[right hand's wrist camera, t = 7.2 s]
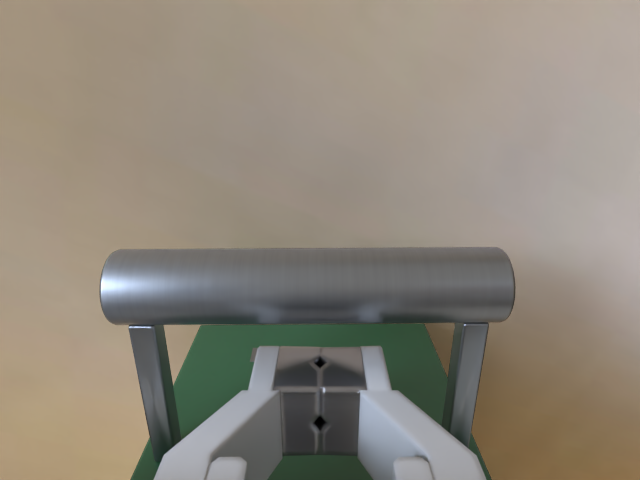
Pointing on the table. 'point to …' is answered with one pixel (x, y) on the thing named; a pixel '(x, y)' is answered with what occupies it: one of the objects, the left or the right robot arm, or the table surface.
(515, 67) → the table surface
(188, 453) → the right robot arm
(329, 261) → the drawer
